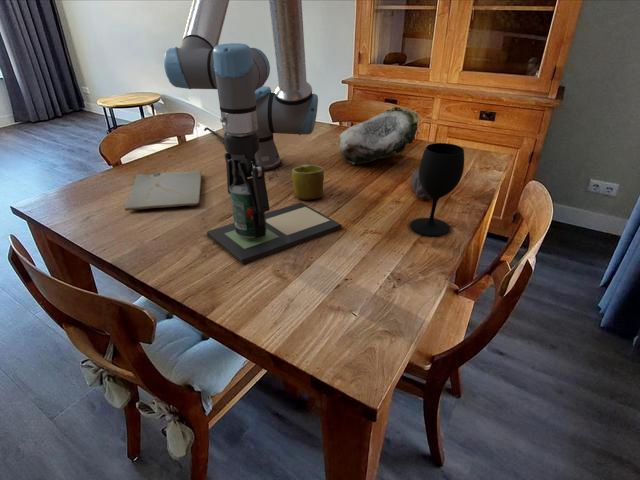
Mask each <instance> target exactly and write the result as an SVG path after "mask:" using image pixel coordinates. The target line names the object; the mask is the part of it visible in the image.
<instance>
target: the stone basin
mask: <svg viewBox="0 0 640 480" xmlns="http://www.w3.org/2000/svg"><path fill="white" fill-rule="evenodd" d="M418 114H419V113H418V112H416V113H415V112H414V111H411V110H409V109H408V108H403V107H398V106H393V107H392V108H391V109H386V111H382V112H381V113H379V114H377V115H375V116H373V117H371V118H369V119H367V120H365V121H362V122H359V123H357V124H354V125H351V126H349V127H348V128H347V129H345V130H343V131H342V132H341V134H339V136H338V144H339V145H338V146H339V150H340V152H341V156H343V157H344V158H345V160H346V161H347V162H348V163H351V164H352V165H354V166H355V164H356V165H359V164H364V163H369V162H373V161H375V160H378V159H379V160H380V159H385V158H386V159H387V158H390V157H392V156H395V155H397V154H401V153H403V152H404V150H405V149H406V146H407V144H409V145H410V144H413V141H414V140H416V135H417V131H418V123H419V115H418Z"/></svg>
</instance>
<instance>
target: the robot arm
mask: <svg viewBox="0 0 640 480" xmlns="http://www.w3.org/2000/svg"><path fill="white" fill-rule="evenodd" d="M268 2H269V3H268V5H269V12H270V20H271V22H270V23H271V31H272V39H273V48H274V56H275V64H276V73H277V82H278V84H277V86H276V87H275V88H274V92H272V88H271V87H270V86H267V85H265V83H266V82H267V81H268V79H269V77H270V73H271V65H270V61H269V59H268V57H267V55H266V54H265V53H264V52H263V51H262V50H261V49H259V48H257V47H250V46H249V45H248V44H246V43H237V42H235V43H233V42H231V43H230V42H229V43H222V44H219V43H220V39H221V35H222V31H223V27H224V23H225V19H226V15H227V12H228V8H229V3H230V0H192V3H191V7H190V11H189V14H188V18H187V22H186V26H185V30H184V33H183V36H182V40H181V43H180V47H178V46H175V47H171V48H168V49H167V50H165V53H164V56H163V57H164V58H163V64H164V71H165V75H166V77H167V79H168V82H169V83H170V84H171V85H172V87H174V88H178V89H179V88H180V89H186V90H187V89H188V90H217V97H218V103H219V104H218V105H219V110H220V118H219V119H220V123H221V126H222V131H223V132H224V133H223V137H222V136H221V135H220V134H219V133H218V132H216V131H215V130H212V129H211V128H209V127H208V126H207V127H204V129H203V131H204V132H207V131H209V132H210V133H211V134H213V135H215V136H216V137H217V138H218V139H219V140H220V141H221V142H222V143H223V144H224V150H225V152H226V153H224V159H225V166H226V181H227V182H226V183H227V193H228V194H229V195H230V189H229V188H230V186H231V185H233V184H235V186H236V185H240V184H244V183H246V185H247V188H248V191H249V193H250V194H251V202H252V205H253V209H254V211H252V216H253V226H254V236H255V238H256V239H257V238H259V237H262V236H265V235H266V233H265V219H264V212H265V213H267V212H270V203H269V197H268V190H267V183H266V177H265V176H266V175H265V172H266V171H269V170H274V169H275V168H278V167H279V166H280V165H281V157H280V154H279V151H278V149H277V146H276V143H275V139H274V134H282V135H298V136H301V135H302V136H303V135H306V136H307V135H311V134H312V133H313V132H314V129H315V126H316V122H317V115H318V104H319V97H318V96H319V95H317V94H315V93H313V87H312V85H311V84H310V83H309V82H308V81H307V67H306V66H307V65H306V52H305V51H306V50H305V35H304V33H305V32H304V19H303V4H302V3H303V1H302V0H268ZM215 132H216V133H215Z"/></svg>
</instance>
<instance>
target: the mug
mask: <svg viewBox="0 0 640 480" xmlns="http://www.w3.org/2000/svg"><path fill="white" fill-rule="evenodd" d="M324 177H325V170H324V168H323V166H320V165H314V164H310V165H309V164H307V163H306V164H302V165H301V166H297V167H296V166H295V167H294V168H292V170H291V179H292V185H293V192H294V196H295V197H296V198H297V200H299V201H300V200H301V201H312V200H316V199H317V200H318V199H319V198H323V196H324Z"/></svg>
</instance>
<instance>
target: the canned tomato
mask: <svg viewBox="0 0 640 480" xmlns="http://www.w3.org/2000/svg"><path fill="white" fill-rule="evenodd" d="M229 189H230V194H229V196H230V204H231V210H232V217H233V223H234V225H235V233H236V234H237V235H238V236H240V237H244V238H255V236H254V226H253V216H252V211H254V209H253V205H252V202H251V194H250V193H249V191H248V188H247V185H246V183H244V184H240V185H236V186H235V184H233V185H231V186H230V188H229ZM265 213H266V212H264V219H265V233H266V231H267V228H266V216H265Z"/></svg>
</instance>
